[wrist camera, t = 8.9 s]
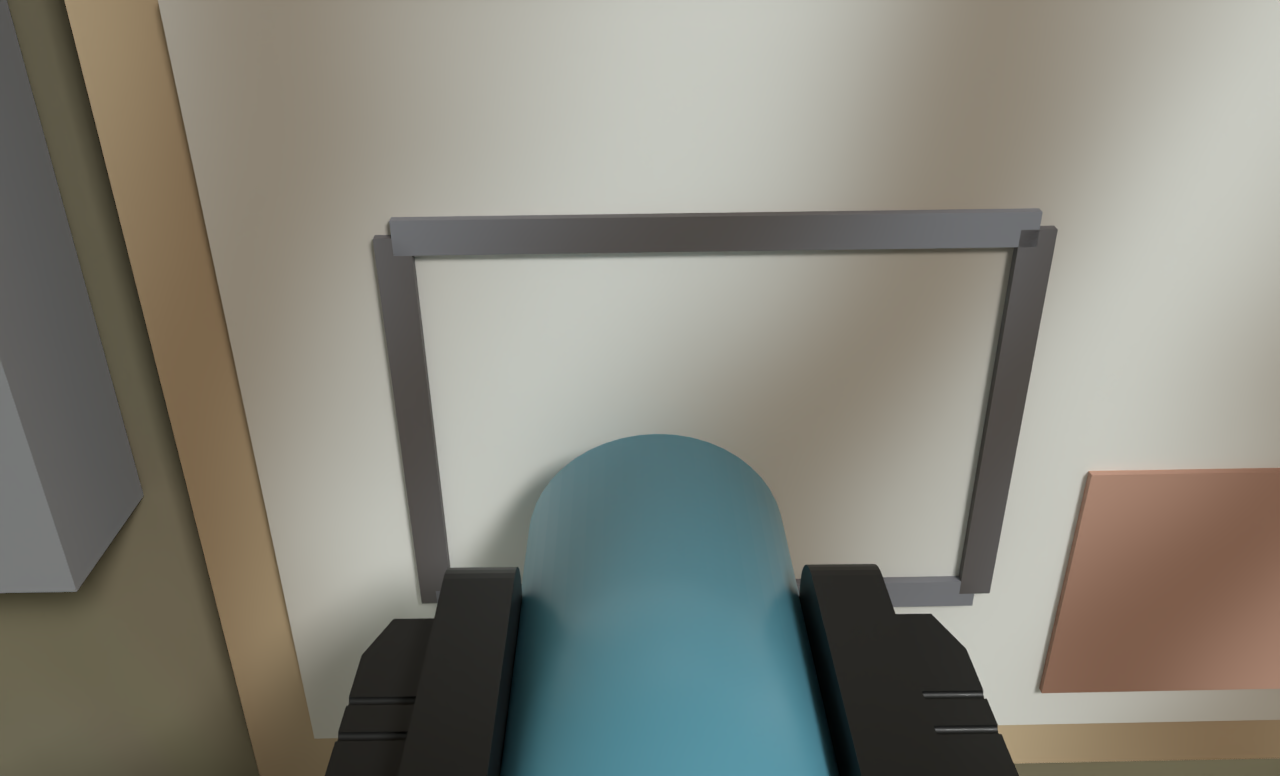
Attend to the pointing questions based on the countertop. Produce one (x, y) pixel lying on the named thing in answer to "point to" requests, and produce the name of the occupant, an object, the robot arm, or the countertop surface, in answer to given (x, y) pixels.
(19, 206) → the button housing
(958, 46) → the board
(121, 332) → the countertop surface
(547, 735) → the marker
